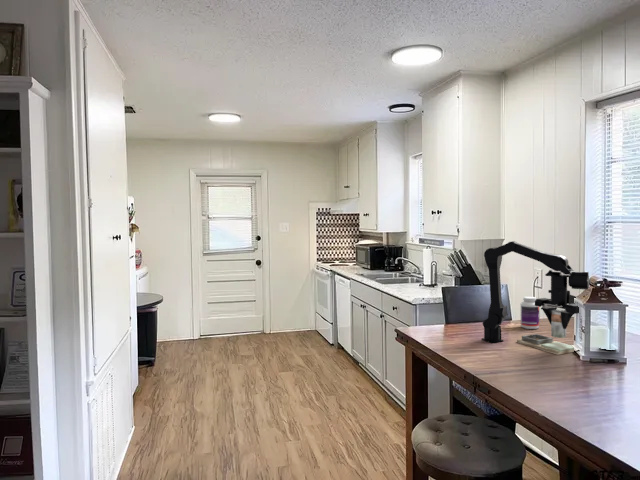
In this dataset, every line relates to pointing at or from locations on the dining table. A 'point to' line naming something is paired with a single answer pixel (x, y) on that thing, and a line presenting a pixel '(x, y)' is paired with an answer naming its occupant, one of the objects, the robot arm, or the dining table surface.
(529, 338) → the pocket board
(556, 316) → the steel tin
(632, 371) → the dining table surface
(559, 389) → the dining table surface
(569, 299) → the robot arm
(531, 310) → the pill bottle
